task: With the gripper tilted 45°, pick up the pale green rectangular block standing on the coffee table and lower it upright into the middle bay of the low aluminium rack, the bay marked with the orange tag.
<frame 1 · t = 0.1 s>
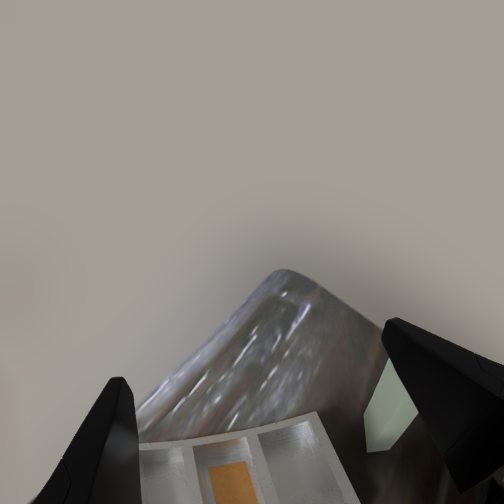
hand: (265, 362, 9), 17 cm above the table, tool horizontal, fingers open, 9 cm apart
pale green rectangular block: (376, 432, 20), on the table
rack: (237, 503, 15), on the table
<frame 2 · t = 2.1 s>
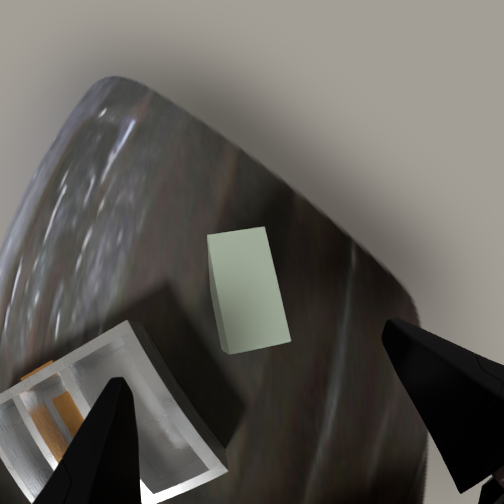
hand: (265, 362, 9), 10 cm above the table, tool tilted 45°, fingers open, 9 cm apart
pale green rectangular block: (230, 317, 19), on the table
rack: (96, 434, 15), on the table
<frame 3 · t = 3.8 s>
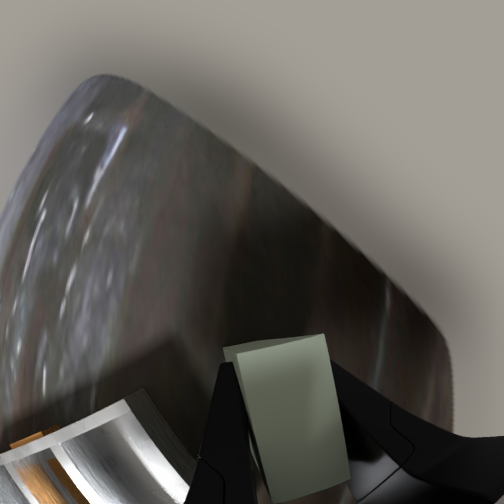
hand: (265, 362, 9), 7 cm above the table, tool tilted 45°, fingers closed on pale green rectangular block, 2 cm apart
pale green rectangular block: (248, 378, 15), on the table, touching gripper
rack: (99, 495, 11), on the table
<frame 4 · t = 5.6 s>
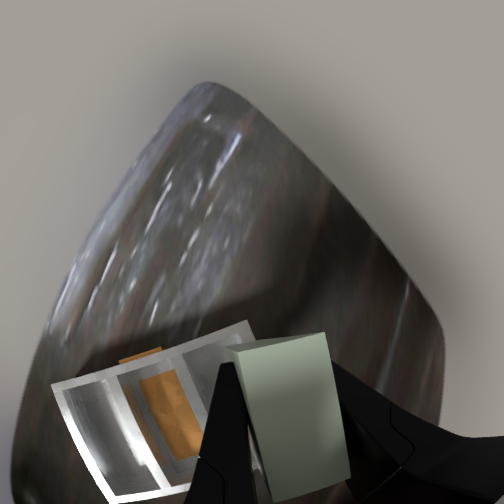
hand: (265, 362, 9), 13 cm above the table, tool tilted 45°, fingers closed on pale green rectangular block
pale green rectangular block: (248, 377, 15), point 6 cm above the table, touching gripper
rack: (176, 414, 19), on the table
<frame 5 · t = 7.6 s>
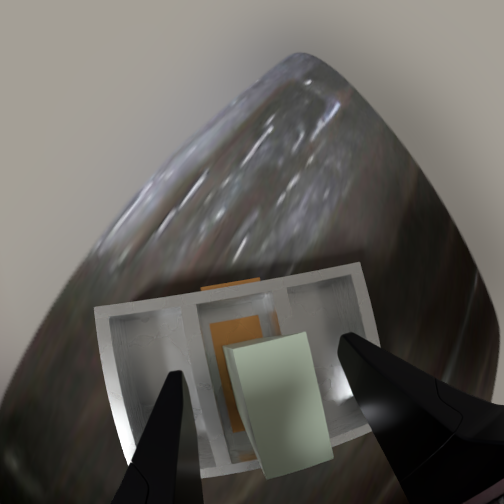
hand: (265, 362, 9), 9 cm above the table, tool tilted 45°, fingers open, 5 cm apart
pale green rectangular block: (246, 374, 16), point 1 cm above the table, touching rack
rack: (244, 374, 17), on the table
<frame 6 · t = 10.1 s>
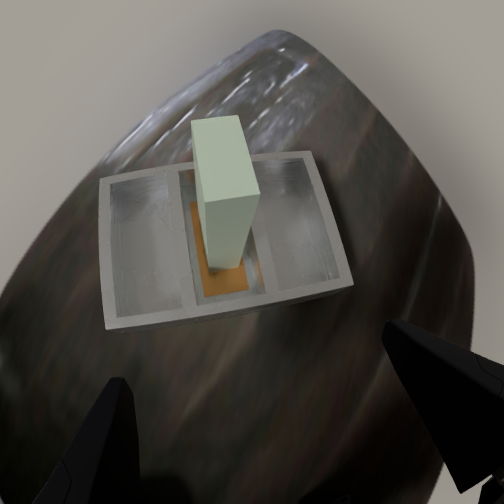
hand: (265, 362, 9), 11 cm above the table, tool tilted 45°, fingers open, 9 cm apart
pale green rectangular block: (217, 242, 20), point 1 cm above the table, touching rack
rack: (217, 247, 21), on the table
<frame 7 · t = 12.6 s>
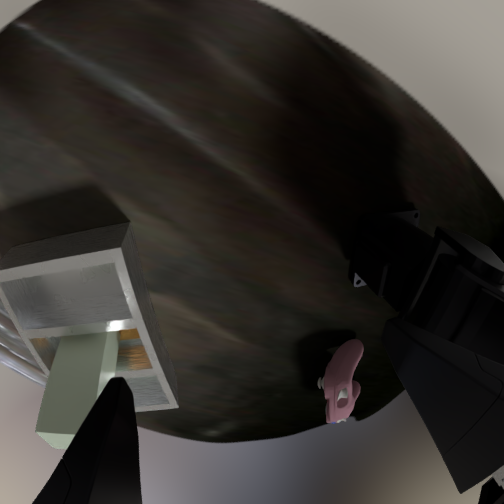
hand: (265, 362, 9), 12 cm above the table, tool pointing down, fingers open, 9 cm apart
pale green rectangular block: (93, 328, 19), point 1 cm above the table, touching rack
rack: (96, 321, 20), on the table
video game controller: (333, 369, 30), on the table
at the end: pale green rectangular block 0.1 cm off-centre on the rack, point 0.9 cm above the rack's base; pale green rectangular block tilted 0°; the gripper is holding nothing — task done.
